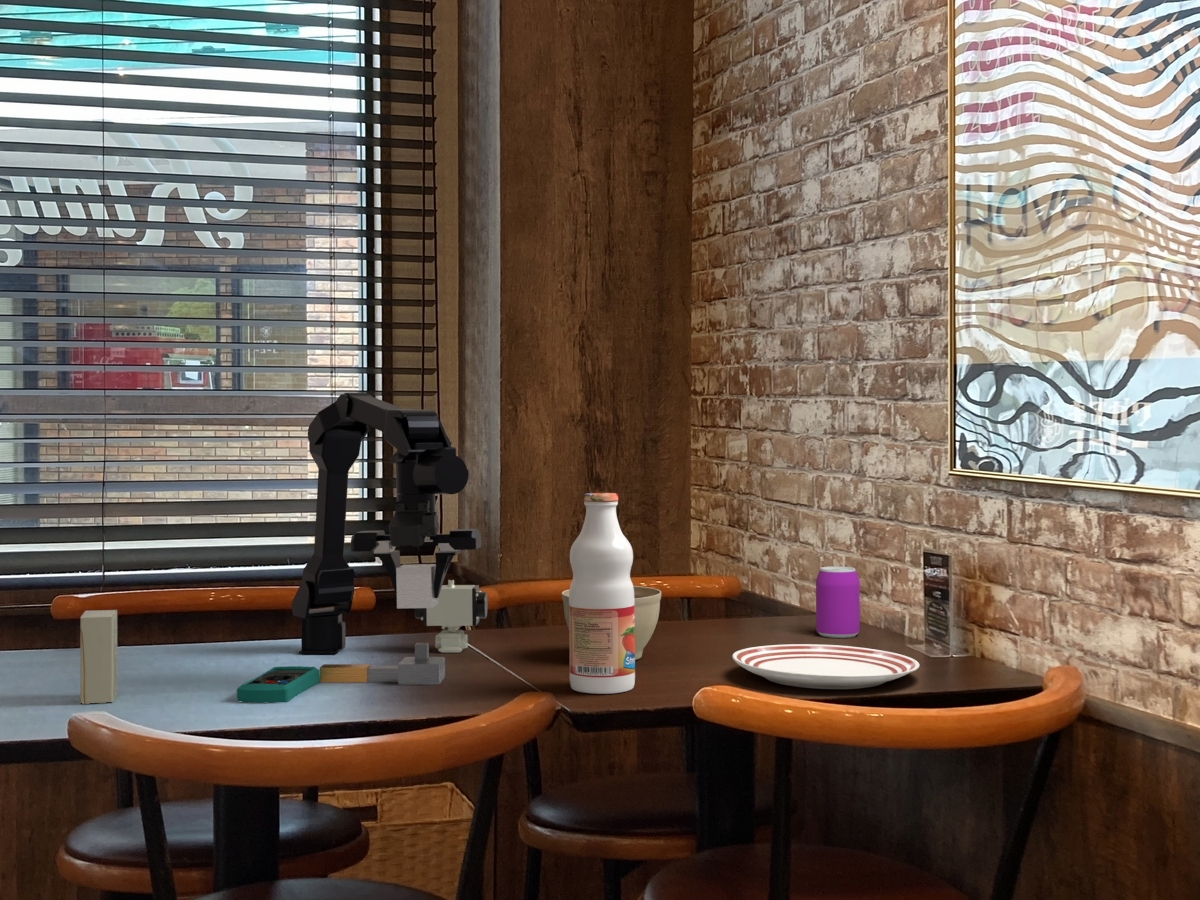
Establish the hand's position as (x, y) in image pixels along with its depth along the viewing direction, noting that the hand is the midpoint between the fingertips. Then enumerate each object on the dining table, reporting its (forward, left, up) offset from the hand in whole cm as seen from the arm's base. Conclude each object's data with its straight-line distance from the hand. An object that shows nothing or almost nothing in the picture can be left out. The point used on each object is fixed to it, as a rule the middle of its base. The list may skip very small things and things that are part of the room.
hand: (418, 598), depth 192 cm
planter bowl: (+29, +17, -12) cm, 36 cm away
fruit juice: (+28, -7, -12) cm, 31 cm away
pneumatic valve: (+2, +24, -12) cm, 27 cm away
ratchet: (-5, -1, -12) cm, 13 cm away
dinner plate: (+61, +1, -13) cm, 62 cm away
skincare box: (-42, -14, -12) cm, 46 cm away
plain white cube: (0, 0, -1) cm, 1 cm away
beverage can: (+69, +39, -12) cm, 80 cm away
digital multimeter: (-19, -9, -13) cm, 24 cm away
